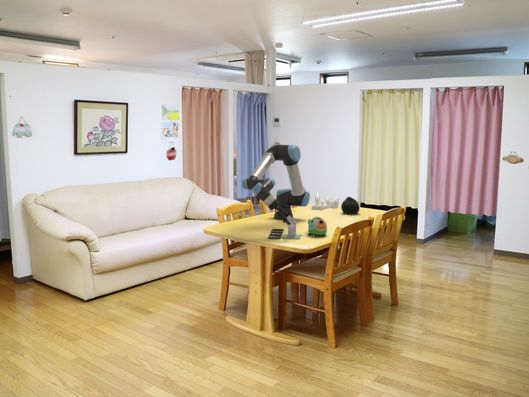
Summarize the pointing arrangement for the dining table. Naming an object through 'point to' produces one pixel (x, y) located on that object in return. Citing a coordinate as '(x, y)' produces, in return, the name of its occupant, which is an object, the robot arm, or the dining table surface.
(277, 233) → the dark brown flat frame
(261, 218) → the dining table surface
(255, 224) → the dining table surface
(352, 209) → the squash
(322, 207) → the toy castle
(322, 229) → the turtle holder
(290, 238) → the mat
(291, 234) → the gray rectangular brick
